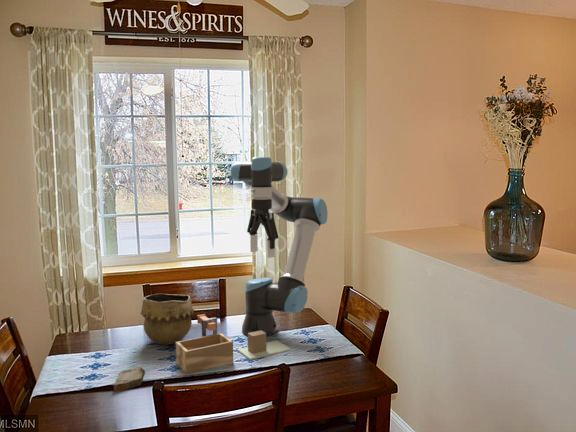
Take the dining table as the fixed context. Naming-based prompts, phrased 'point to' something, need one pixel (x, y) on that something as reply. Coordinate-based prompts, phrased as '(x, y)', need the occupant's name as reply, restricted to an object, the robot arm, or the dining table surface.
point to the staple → (205, 325)
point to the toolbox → (204, 352)
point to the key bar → (209, 325)
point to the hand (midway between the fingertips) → (262, 254)
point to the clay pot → (167, 317)
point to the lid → (261, 346)
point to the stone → (129, 379)
